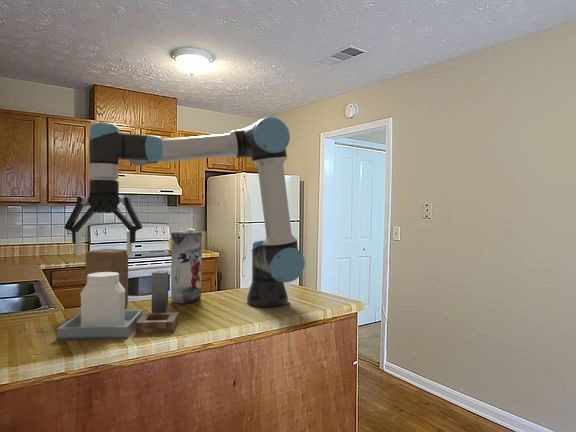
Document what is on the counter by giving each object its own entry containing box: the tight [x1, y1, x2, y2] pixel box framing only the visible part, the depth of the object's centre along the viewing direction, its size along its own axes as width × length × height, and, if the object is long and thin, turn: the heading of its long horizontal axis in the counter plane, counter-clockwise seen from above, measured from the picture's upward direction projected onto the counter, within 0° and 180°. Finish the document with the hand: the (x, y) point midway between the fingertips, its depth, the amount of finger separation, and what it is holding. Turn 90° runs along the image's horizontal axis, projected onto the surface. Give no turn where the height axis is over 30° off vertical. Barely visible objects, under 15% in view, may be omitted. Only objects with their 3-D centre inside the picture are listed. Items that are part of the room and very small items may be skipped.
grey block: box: [151, 270, 169, 313], centre depth 129 cm, size 4×4×14 cm
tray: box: [56, 309, 144, 341], centre depth 114 cm, size 18×18×3 cm
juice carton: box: [170, 228, 203, 305], centre depth 149 cm, size 9×10×27 cm
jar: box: [80, 272, 126, 327], centre depth 114 cm, size 12×10×15 cm
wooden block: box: [85, 248, 129, 307], centre depth 135 cm, size 10×10×20 cm
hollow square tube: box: [135, 312, 179, 334], centre depth 116 cm, size 10×10×3 cm
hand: (104, 254), depth 113 cm, fingers open, 13 cm apart
